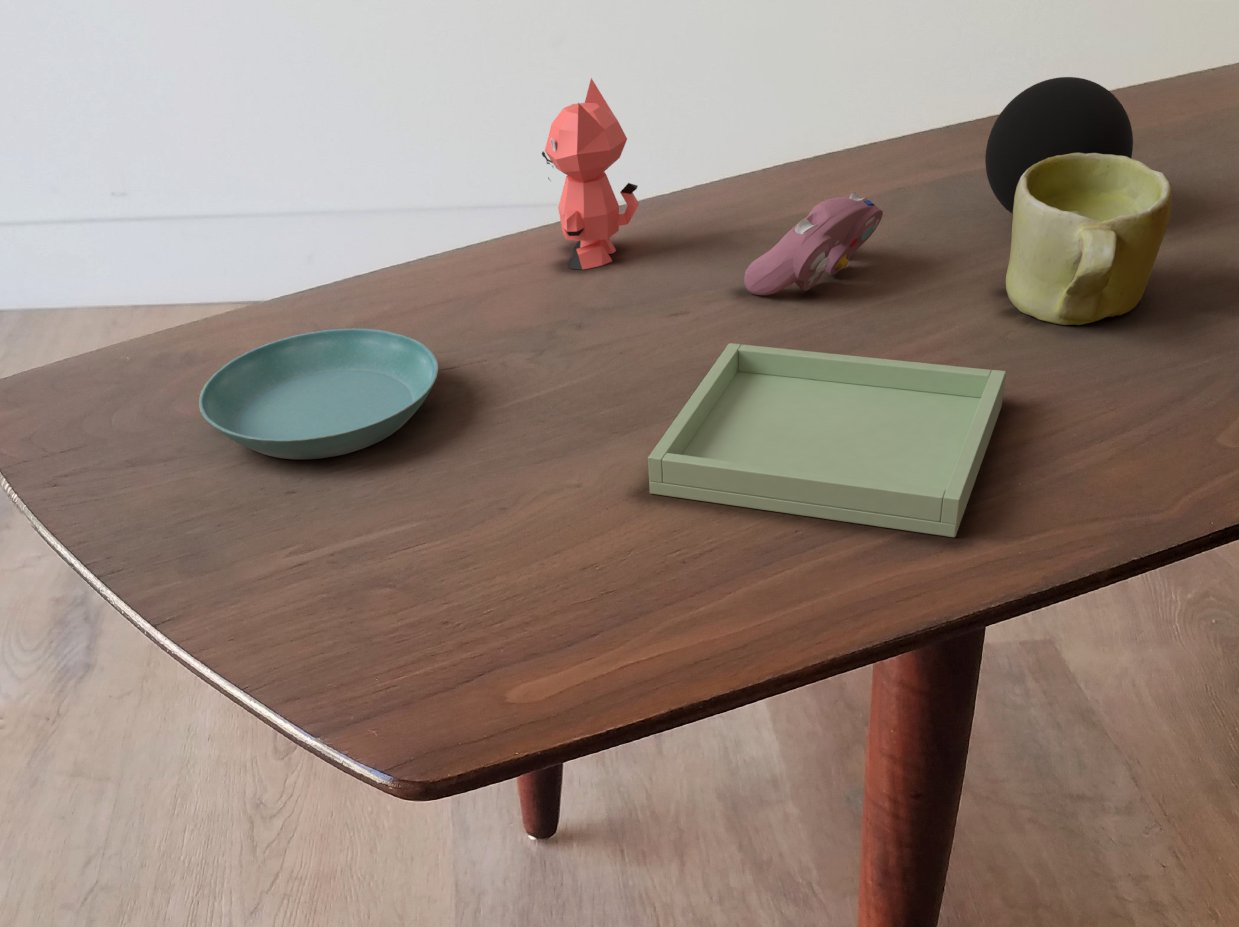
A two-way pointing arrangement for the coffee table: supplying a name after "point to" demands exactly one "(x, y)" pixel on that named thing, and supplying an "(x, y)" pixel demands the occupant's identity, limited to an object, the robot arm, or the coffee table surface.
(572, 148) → the cat figurine
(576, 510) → the coffee table surface
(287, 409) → the saucer
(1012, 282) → the mug
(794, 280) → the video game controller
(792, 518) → the coffee table surface
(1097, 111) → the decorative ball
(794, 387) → the sage green tray
